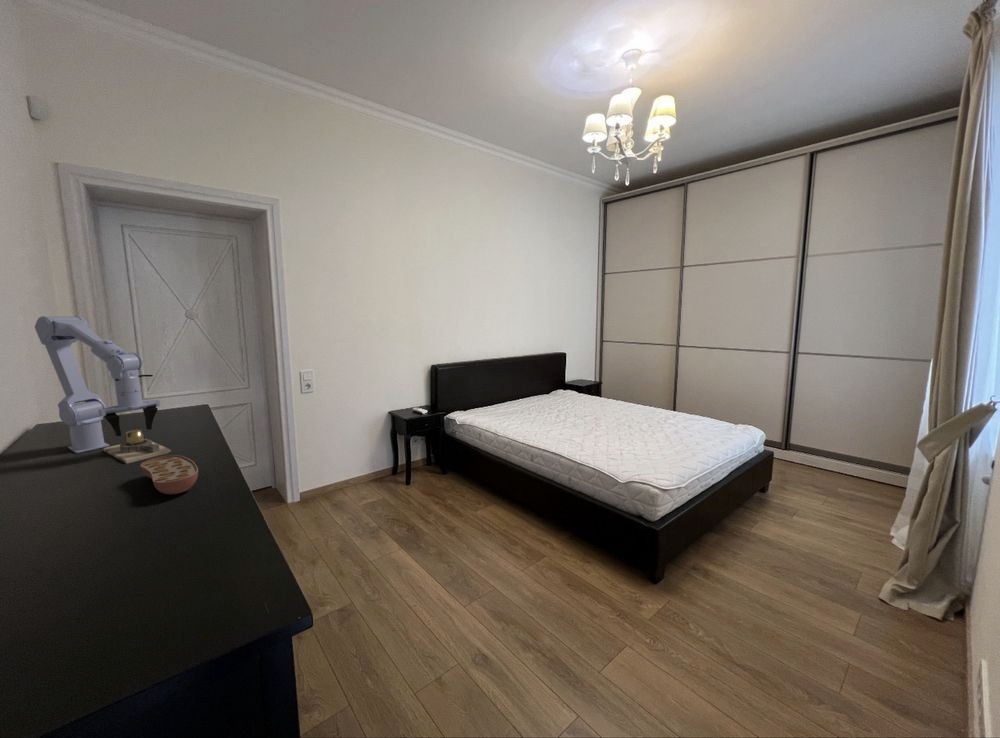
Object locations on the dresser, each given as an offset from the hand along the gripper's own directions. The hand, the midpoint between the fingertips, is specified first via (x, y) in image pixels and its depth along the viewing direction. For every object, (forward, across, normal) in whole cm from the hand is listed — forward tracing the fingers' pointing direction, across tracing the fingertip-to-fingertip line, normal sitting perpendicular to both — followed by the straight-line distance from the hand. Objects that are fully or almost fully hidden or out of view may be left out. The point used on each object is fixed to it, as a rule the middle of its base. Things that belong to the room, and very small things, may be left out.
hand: (134, 432), depth 129 cm
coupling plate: (+7, 0, 0) cm, 7 cm away
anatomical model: (+7, -4, -39) cm, 40 cm away
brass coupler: (+6, 0, 0) cm, 6 cm away
